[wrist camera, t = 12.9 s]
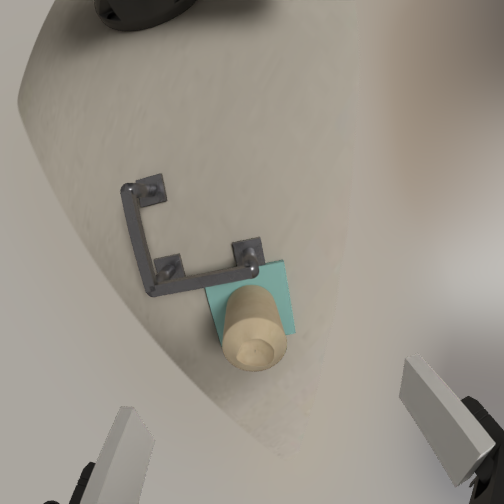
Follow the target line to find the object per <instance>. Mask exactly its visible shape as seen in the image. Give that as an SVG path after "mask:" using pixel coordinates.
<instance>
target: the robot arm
mask: <svg viewBox="0 0 504 504" xmlns="http://www.w3.org/2000/svg"><path fill="white" fill-rule="evenodd" d="M196 1H197V0H94V4H95V9H96V12H97V14H98V16H99V17H100V18H101V20H102V21H103V22H104V23H105V24H106V25H107V26H109V27H110V28H113V29H116V30H121V31H133V30H141V29H145V28H149V27H153V26H156V25H158V24H161V23H163V22H166V21H168V20H170V19H172V18H174V17H176V16H177V15H179V14H181V13H182V12H184V11H185V10H187V9H188V8H189V7H190V6H192V5H193V4H194V3H195V2H196ZM399 398H400V399H401V401H402V402H403V404H404V405H405V407H406V408H407V410H408V412H409V413H410V414H411V416H412V418H413V419H414V421H415V422H416V424H417V426H418V427H419V429H420V430H421V432H422V433H423V435H424V437H425V438H426V440H427V441H428V443H429V445H430V446H431V448H432V449H433V451H434V453H435V454H436V456H437V458H438V459H439V461H440V462H441V464H442V466H443V467H444V469H445V471H446V472H447V474H448V476H449V477H450V479H451V481H452V483H453V484H454V486H455V487H457V486H459V485H460V484H462V483H463V482H465V481H466V480H468V479H469V478H470V477H471V476H472V474H474V472H475V473H476V475H477V476H476V478H475V479H474V480H473V481H472V482H471V483H470V486H469V487H472V485H473V484H474V488H473V491H472V495H471V499H470V503H469V504H504V430H503V429H502V428H501V427H500V426H499V425H498V423H497V422H496V421H495V420H494V419H493V418H492V416H491V415H489V414H488V412H487V411H486V410H485V409H484V407H483V406H482V405H481V404H480V403H479V402H478V401H477V400H475V399H473V398H472V397H470V396H467V397H465V398H464V399H462V400H459V398H458V397H457V396H456V395H455V394H454V393H453V391H452V390H451V389H450V388H449V387H448V386H447V384H446V383H445V382H444V381H443V380H442V379H441V378H440V377H439V375H438V374H437V373H436V372H435V371H434V370H433V369H432V368H431V367H430V365H429V364H428V363H427V362H426V361H425V360H424V359H423V358H422V357H421V356H420V355H419V353H417V354H414V355H412V356H409V357H406V358H405V364H404V370H403V376H402V383H401V388H400V394H399ZM154 443H155V439H154V438H153V436H152V435H151V433H150V432H149V430H148V429H147V427H146V426H145V424H144V423H143V421H142V420H141V418H140V416H139V415H138V413H137V412H136V410H135V408H134V407H121V408H120V410H119V412H118V414H117V416H116V418H115V421H114V423H113V425H112V427H111V430H110V432H109V434H108V436H107V438H106V441H105V443H104V446H103V448H102V450H101V453H100V455H99V457H98V459H97V462H96V463H93V462H90V463H89V464H88V465H87V466H86V467H85V468H84V469H83V471H82V473H81V476H80V479H79V480H78V483H77V484H78V485H77V486H76V488H75V490H74V492H73V495H72V498H71V500H70V502H69V504H138V503H139V499H140V495H141V491H142V487H143V484H144V480H145V476H146V472H147V468H148V465H149V461H150V457H151V453H152V449H153V446H154ZM44 504H59V503H58V502H56V501H47V502H45V503H44Z"/></svg>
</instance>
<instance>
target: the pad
mask: <svg viewBox="0 0 504 504" xmlns="http://www.w3.org/2000/svg"><path fill="white" fill-rule="evenodd" d="M245 285H258V286H261V287H263V288H265V289H266V290H268V291H269V292H270V293H271V295H272V296H273V298H274V300H275V303H276V306H277V309H278V312H279V316H280V319H281V322H282V326H283V329H284V332H285V335H289V334H294V333H296V332H295V326H294V319H293V313H292V307H291V301H290V294H289V288H288V283H287V277H286V271H285V265H284V261H283V260H279V261H274V262H269V263H265V265H262V266H259V275H258V276H257V277H256V278H254V279H247V280H242V281H237V282H232V283H226V284H221V285H216V286H211V287H205V290H206V293H207V297H208V301H209V305H210V308H211V312H212V315H213V319H214V323H215V326H216V330H217V333H218V336H219V340H220V343H221V347H222V341H223V332H224V323H225V314H226V307H227V302H228V299H229V297H230V296H231V294H232V293H233V292H234V291H235V290H236V289H238V288H240V287H242V286H245Z"/></svg>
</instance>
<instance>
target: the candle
mask: <svg viewBox="0 0 504 504" xmlns="http://www.w3.org/2000/svg"><path fill="white" fill-rule="evenodd" d="M222 348H223V353H224V355H225V357H226V358H227V360H228V361H229V362H230V363H231V364H232V365H234V366H235V367H237V368H239V369H242V370H245V371H262V370H266V369H268V368H271V367H272V366H274V365H275V364H277V363H278V362H279V361H280V360H281V359H282V357H283V356H284V354H285V352H286V348H287V339H286V335H285V332H284V329H283V326H282V322H281V319H280V316H279V312H278V309H277V306H276V303H275V300H274V298H273V296H272V295H271V293H270V292H269V291H268V290H266V289H265V288H263V287H261V286H258V285H245V286H242V287H240V288H238V289H236V290H235V291H234V292H233V293H232V294H231V296H230V297H229V299H228V302H227V307H226V314H225V323H224V332H223V341H222Z"/></svg>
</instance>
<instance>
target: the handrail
mask: <svg viewBox="0 0 504 504" xmlns="http://www.w3.org/2000/svg"><path fill="white" fill-rule="evenodd" d="M120 194H121V198H122V203H123V208H124V213H125V217H126V221H127V226H128V230H129V234H130V238H131V242H132V246H133V250H134V253H135V257H136V261H137V264H138V268H139V271H140V275H141V278H142V281H143V285H144V288H145V291H146V293H147V294H148V295H149V296H151V297H157V296H162V295H167V294H173V293H178V292H184V291H189V290H195V289H200V288H205V287H211V286H216V285H221V284H226V283H232V282H237V281H242V280H247V279H254V278H256V277H257V276H258V275H259V266H262V265H265V259H264V254H263V249H262V244H261V239H260V237H257V238H252V239H247V240H242V241H237V242H233V243H232V244H233V248H234V253H235V257H236V262H237V267H232V268H227V269H222V270H217V271H212V272H207V273H202V274H197V275H191V276H186V275H185V271H184V268H183V264H182V260H181V256H180V253H179V254H175V255H170V256H165V257H161V258H156V259H154V263H155V266H156V270H157V273H158V274H157V275H155V272H154V268H153V264H152V261H151V257H150V253H149V249H148V246H147V242H146V238H145V234H144V230H143V225H142V221H141V217H140V212H139V208H138V203H137V198H139V201H140V205H141V207H144V206H148V205H151V204H155V203H159V202H163V201H167V196H166V191H165V186H164V181H163V176H162V174H157V175H153V176H150V177H146V178H143V179H140V180H136V183H126V184H124V185H123V186H122V187H121V193H120Z"/></svg>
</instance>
